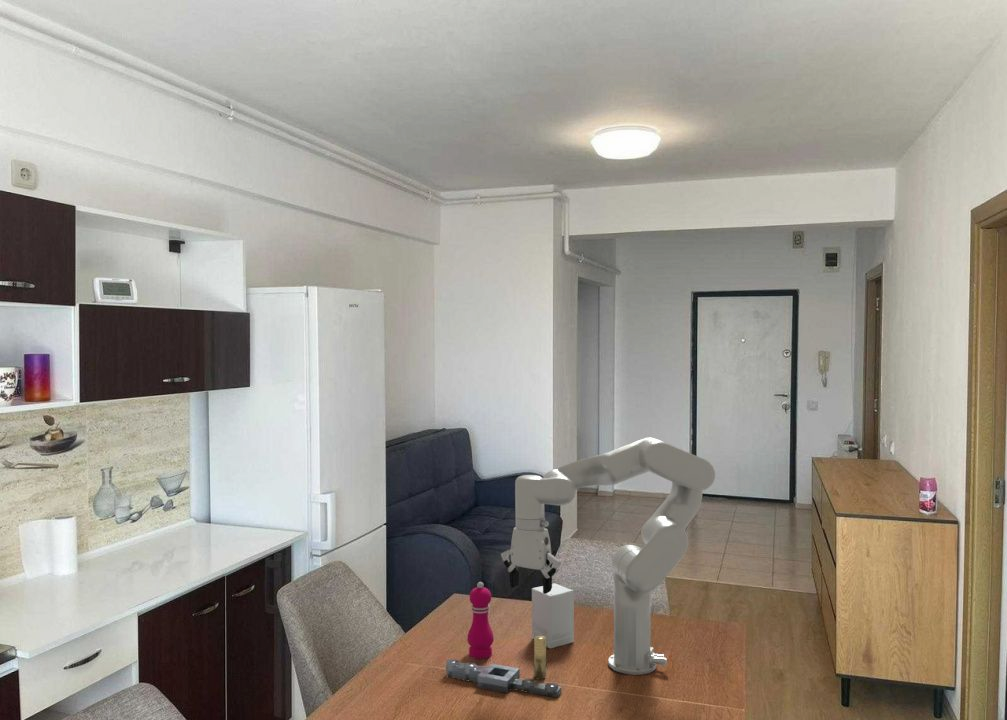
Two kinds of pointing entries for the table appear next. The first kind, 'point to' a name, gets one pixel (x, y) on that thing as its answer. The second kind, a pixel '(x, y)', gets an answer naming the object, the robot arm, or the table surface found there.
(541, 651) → the brass pin
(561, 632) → the supplement box
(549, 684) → the chain ends
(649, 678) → the table surface
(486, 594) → the pepper mill
